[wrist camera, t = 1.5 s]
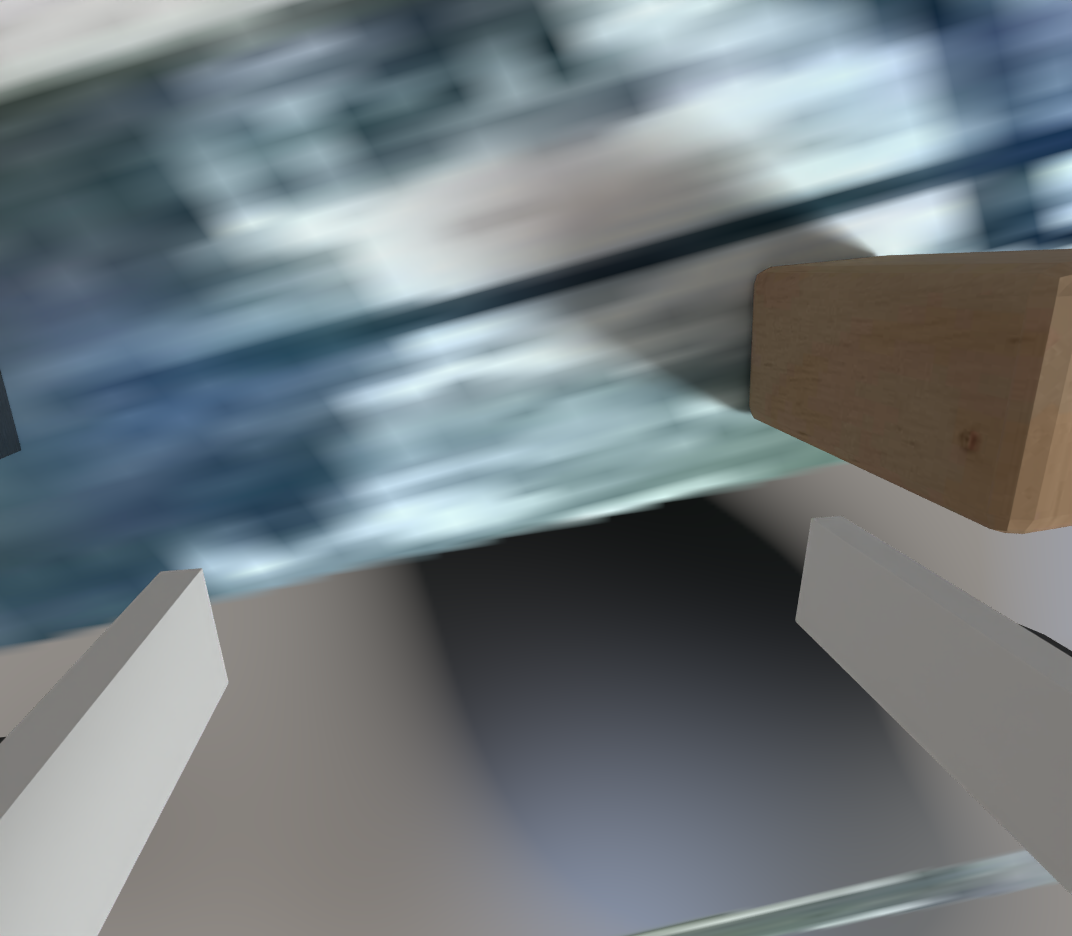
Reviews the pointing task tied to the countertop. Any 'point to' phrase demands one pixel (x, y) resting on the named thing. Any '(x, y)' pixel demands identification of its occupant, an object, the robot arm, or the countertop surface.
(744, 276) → the countertop surface
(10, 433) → the shaft stand
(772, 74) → the countertop surface
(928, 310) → the wooden block
